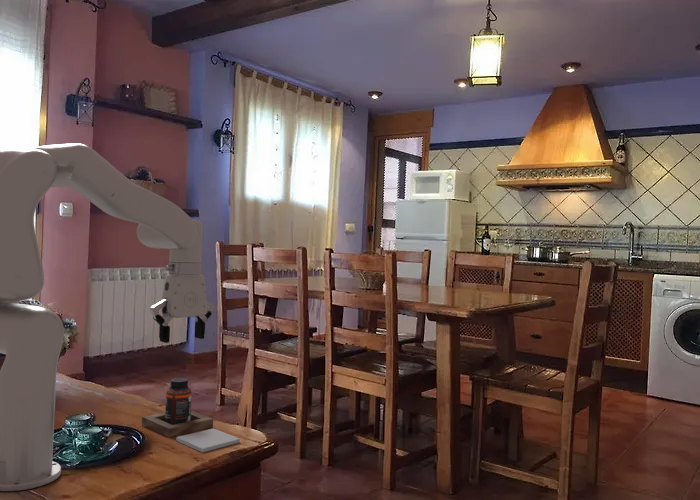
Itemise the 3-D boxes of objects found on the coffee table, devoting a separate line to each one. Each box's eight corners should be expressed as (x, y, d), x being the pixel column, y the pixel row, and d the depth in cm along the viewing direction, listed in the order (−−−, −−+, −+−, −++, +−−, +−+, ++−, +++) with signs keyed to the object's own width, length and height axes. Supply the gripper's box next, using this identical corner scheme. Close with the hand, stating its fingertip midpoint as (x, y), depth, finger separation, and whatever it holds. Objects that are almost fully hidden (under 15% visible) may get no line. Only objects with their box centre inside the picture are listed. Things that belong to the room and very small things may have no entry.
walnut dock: (168, 437, 133) (169, 428, 133) (141, 425, 141) (142, 416, 141) (212, 427, 142) (213, 418, 142) (184, 416, 150) (185, 408, 150)
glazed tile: (202, 452, 124) (202, 448, 124) (176, 440, 131) (176, 437, 131) (239, 442, 132) (239, 438, 132) (213, 431, 139) (213, 428, 139)
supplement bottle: (195, 425, 142) (197, 379, 142) (176, 431, 137) (178, 383, 137) (178, 421, 146) (180, 375, 146) (159, 426, 141) (161, 379, 141)
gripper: (161, 271, 133) (158, 346, 133) (223, 270, 146) (221, 338, 146) (144, 269, 138) (141, 341, 138) (206, 268, 151) (203, 334, 151)
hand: (182, 340), depth 142 cm, fingers open, 9 cm apart
